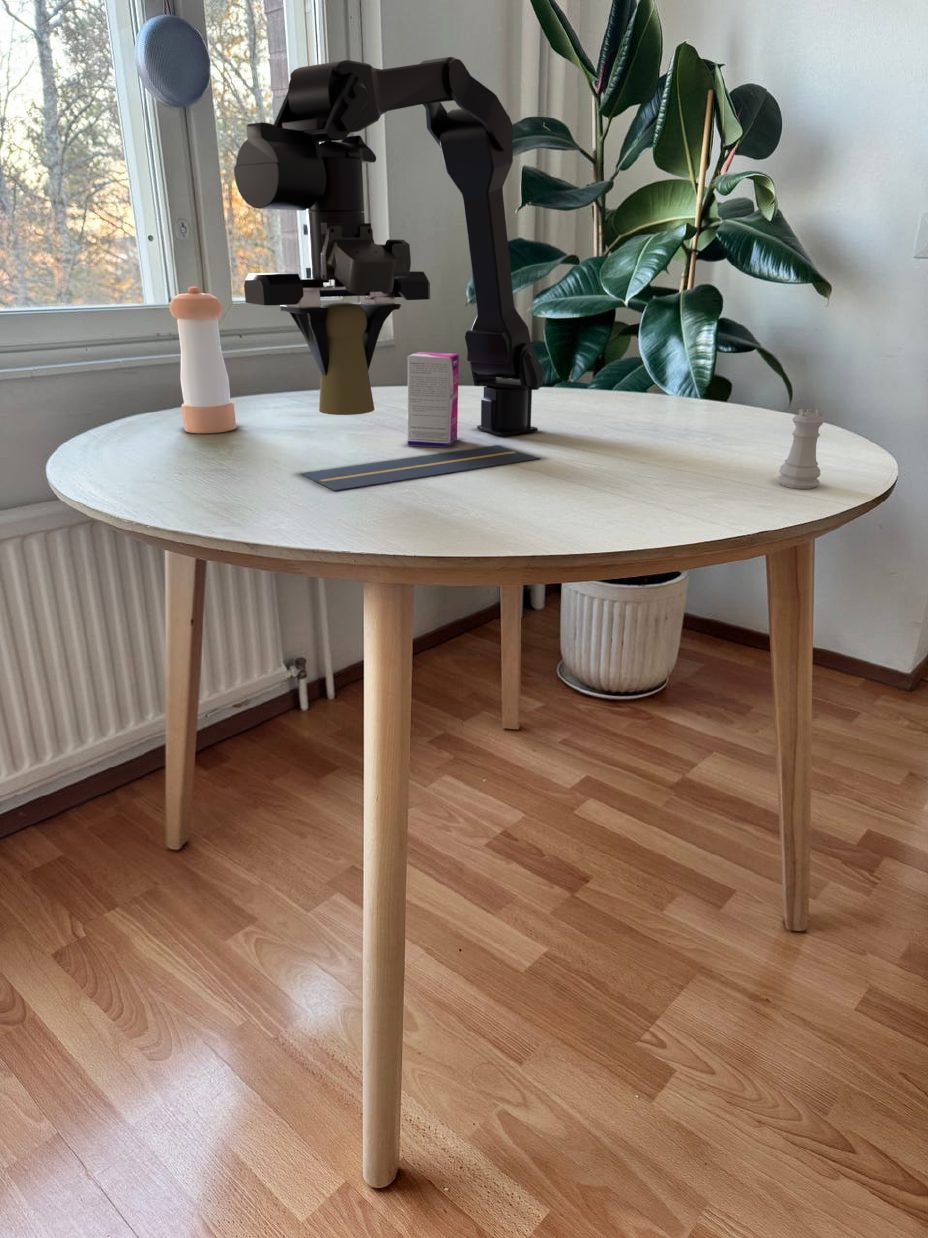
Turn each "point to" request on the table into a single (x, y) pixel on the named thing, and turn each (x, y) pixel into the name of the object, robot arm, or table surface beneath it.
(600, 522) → the table surface
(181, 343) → the salt shaker
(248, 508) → the table surface
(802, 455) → the rook chess piece
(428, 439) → the supplement box
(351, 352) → the cork
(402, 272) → the robot arm
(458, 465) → the line mat
